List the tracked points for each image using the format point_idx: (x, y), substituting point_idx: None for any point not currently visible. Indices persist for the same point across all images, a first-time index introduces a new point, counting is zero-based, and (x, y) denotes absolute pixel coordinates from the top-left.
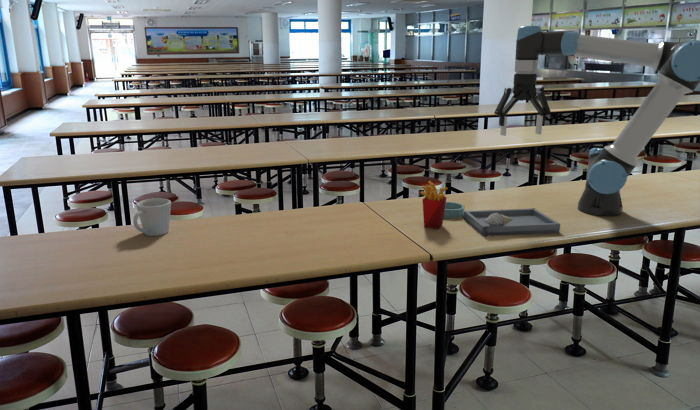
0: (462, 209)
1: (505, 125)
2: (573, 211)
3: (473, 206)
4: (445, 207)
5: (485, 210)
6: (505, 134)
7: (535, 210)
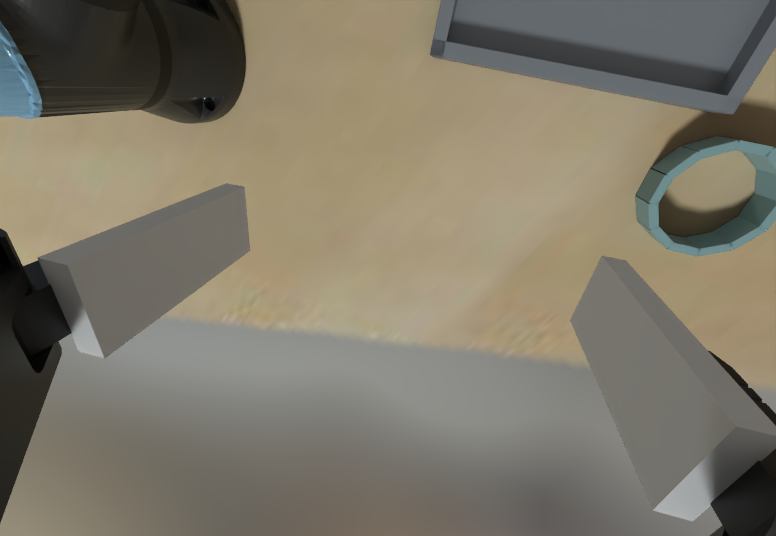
0: (703, 148)
1: (673, 324)
2: (269, 67)
3: (540, 235)
4: (674, 238)
5: (638, 91)
6: (613, 262)
7: (446, 21)
